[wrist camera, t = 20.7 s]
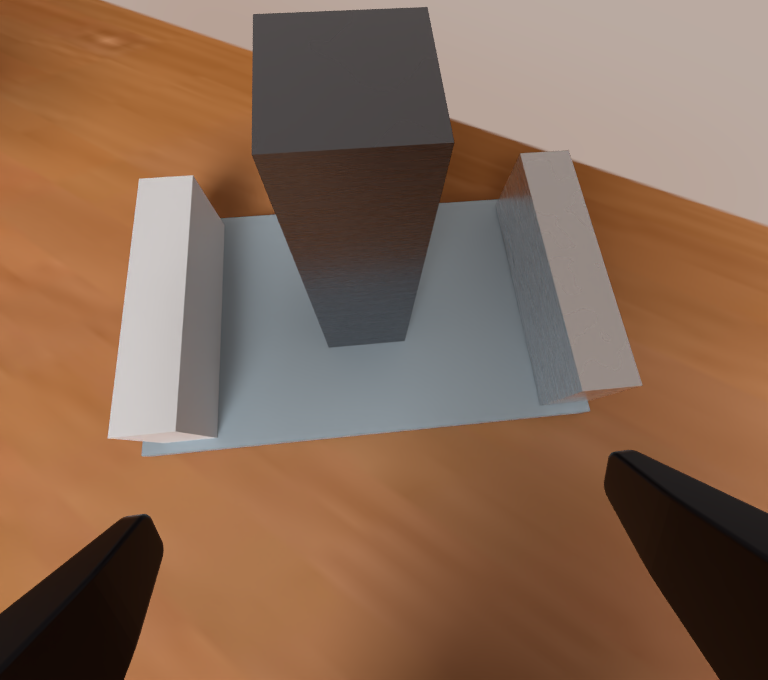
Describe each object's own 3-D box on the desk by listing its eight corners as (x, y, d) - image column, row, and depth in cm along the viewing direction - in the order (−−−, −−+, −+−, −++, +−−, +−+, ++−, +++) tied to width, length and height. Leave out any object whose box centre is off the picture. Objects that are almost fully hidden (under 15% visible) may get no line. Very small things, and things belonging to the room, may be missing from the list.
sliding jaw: (540, 405, 19) (582, 391, 15) (495, 205, 23) (520, 153, 19) (589, 400, 19) (642, 385, 15) (536, 202, 23) (568, 150, 19)
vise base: (151, 456, 19) (78, 454, 14) (170, 230, 23) (118, 171, 18) (581, 412, 20) (643, 398, 15) (528, 205, 24) (564, 144, 19)
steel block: (404, 341, 20) (454, 142, 8) (328, 347, 20) (251, 154, 7) (396, 273, 21) (426, 7, 9) (325, 279, 21) (253, 14, 9)
